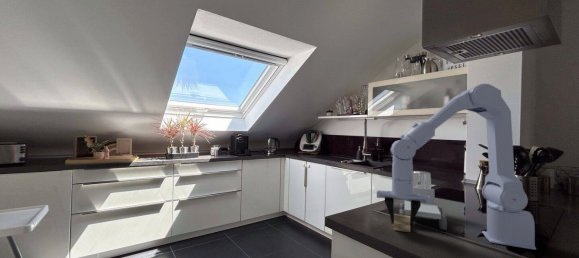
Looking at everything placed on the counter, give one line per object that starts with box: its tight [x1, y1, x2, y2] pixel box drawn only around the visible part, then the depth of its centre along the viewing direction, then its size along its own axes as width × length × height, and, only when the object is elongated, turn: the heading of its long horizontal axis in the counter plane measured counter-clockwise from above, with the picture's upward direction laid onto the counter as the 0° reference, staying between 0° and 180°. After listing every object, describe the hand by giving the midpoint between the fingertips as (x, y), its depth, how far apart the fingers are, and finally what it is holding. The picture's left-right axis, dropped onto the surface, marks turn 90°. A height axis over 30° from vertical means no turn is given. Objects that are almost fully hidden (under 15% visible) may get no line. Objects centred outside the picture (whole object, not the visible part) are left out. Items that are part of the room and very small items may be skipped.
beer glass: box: [413, 170, 432, 189], centre depth 93 cm, size 7×7×15 cm
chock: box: [393, 213, 411, 233], centre depth 75 cm, size 4×5×4 cm
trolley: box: [399, 187, 448, 231], centre depth 82 cm, size 13×13×10 cm
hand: (401, 224), depth 74 cm, fingers closed on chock, 4 cm apart
